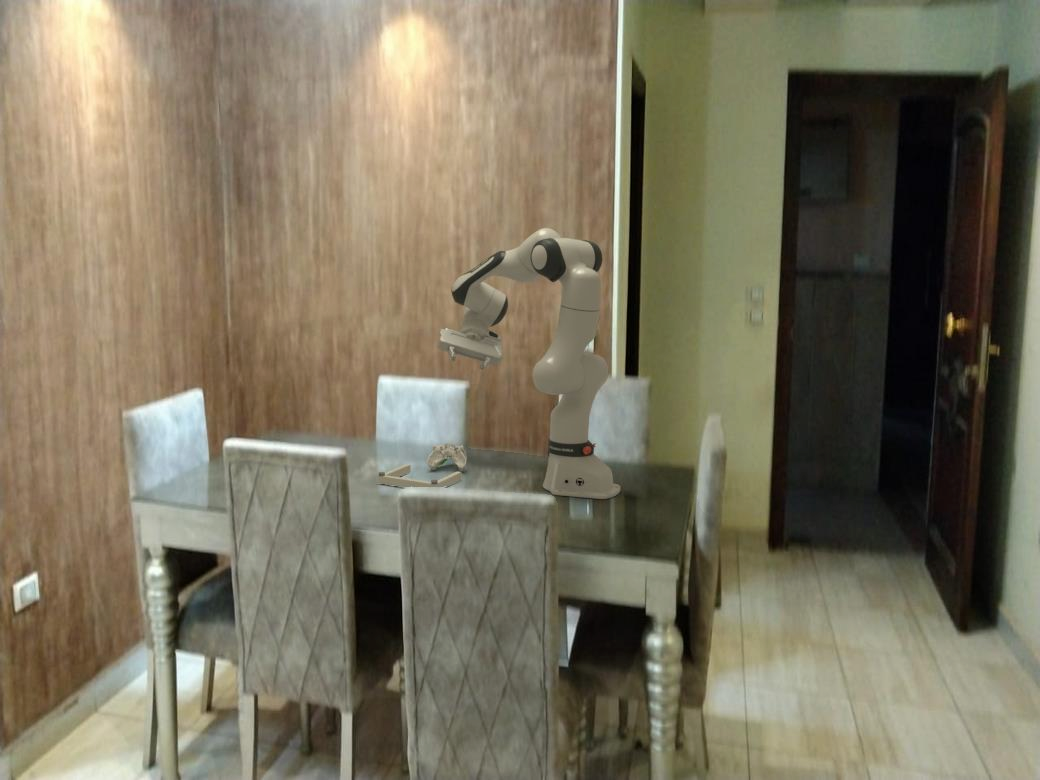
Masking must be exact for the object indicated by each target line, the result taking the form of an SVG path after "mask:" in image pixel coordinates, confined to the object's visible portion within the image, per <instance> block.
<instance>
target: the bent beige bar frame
mask: <svg viewBox="0 0 1040 780" xmlns="http://www.w3.org/2000/svg"><path fill="white" fill-rule="evenodd" d="M411 466H412V465H411V464H408V463H405V464H404V465H403V464H402V465H401V466H398V467H395V468H393V469H391V470H388V471H386V472H384V471H380V472H378V475H377V479H378V480H377V484H378V483H380V484H379V485H381V484H386V485H385V486H387V485H395V486H399V487H398V488H400V487H401V486H402V488H401V489H404V488H403V487H411V486H412V487H444V486H449V485H451V486H453V485H455V484H456V483H458V482H460V481H462V471H459V470H458V471H455V472H453V473H451V474H448V475H446V476H445V477H442V478H440V479H438V480H437V479H432V480H431V481H426V480H420V479H413V478H404V476H406V475H408V473H409V474H411V473H410V472H411V471H412V470H411V469H412V468H411ZM405 474H406V475H405ZM403 475H404V476H403ZM400 476H402V477H400ZM452 484H453V485H452ZM449 487H450V486H449Z"/></svg>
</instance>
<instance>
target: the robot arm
mask: <svg viewBox="0 0 1040 780" xmlns="http://www.w3.org/2000/svg"><path fill="white" fill-rule="evenodd" d="M602 263H603V253H602V250H601V248H600V247H599V245H598V244H597V243H595V242H593V241H590V240H587V239H575V238H574V239H573V238H570V237H561V235H560V234H559V233H558V232H557V231H555V230H554V229H552V228H549V227H543V228H540V229H538V230H537V231H535V232H533V233H532V234H531V235H529V236H528V237H527V238H526V239H524V241H522V243H520V245H519V246H517V247H515V248H513V249H510V250H499V251H497V252H495V253H494V254H492V255H490V256H488V257H487V258H486V259H485V260H483V261H482V262H480V263H479V264H477V265H476V266H475V267H474V268H471V269H470V270H468V271H467V272H464V273H462V274H461V275H459V276H458V278H457V279H455V281H454V283H453V284H452V287H451V290H450V291H451V295H452V298H453V301H454V302H455V303H457V304H458V305H461V306H463V307H465V308H464V312H463V315H462V318H461V325H460V327H459V330H455V329H451V328H450V327H445V328H440V331H439V336H440V338H439V340H438V342H437V343H438V344H437V348H438V350H441V351H444V352H447V354H448V355H449V360H450V361H452V362H455V361H456V359H457V355H458V356H460V357H464V358H468V359H471V360H475V361H478V362H481V363H480V365H479V369H480V370H484V371H485V369H486V367H488V366H489V365H492V366H495V367H498V366H500V364H501V362H502V361H503V355H504V354H503V353H504V350H503V349H504V348H503V345H502V344H503V343H501V341H502V336H501V335H500V334H497V333H496V332H494V331H492V330H491V329H489V328H490V327H491V328H492V327H494V326H496V325H498V324H499V323H501V322H502V321H503V319H504V318H505V317H506V315H507V312H508V308H509V299H508V297H507V295H506V294H505V293H503V292H502V291H500V290H499V289H497V288H495V287H493V286H492V285H490V284H488V283H486V282H485V281H486V280H487V279H490V277H494V276H495V277H503V278H506V279H510V280H512V281H516V282H518V283H524V284H525V283H526V284H528V283H529V284H530V283H534V282H535V281H537V280H539V279H540V278H541V277H544V278H546V279H548V280H549V281H550V282H552V283H555V282H557V281H559V282H560V284H561V286H562V292H561V294H562V295H561V300H560V304H559V305H560V306H559V313H558V321H557V327H556V331H555V335H554V337H553V339H552V342H551V344H550V346H549V348H548V349H547V351H546V353H545V354H544V355H543V357H542V358H541V359H539V361H537V362H536V364H535V365H534V367H533V370H532V381H533V384H534V386H535V388H536V389H537V391H539V392H540V393H542V394H547V395H553V396H559V395H560V396H561V398H560V400H559V402H558V403H557V405H556V406H555V407H554V408H553V409H552V410H551V413H550V417H549V418H550V422H549V423H550V424H549V438H548V441H547V458H548V460H547V461H548V462H547V468H546V473H545V478H544V481H543V483H542V488H544V489H545V490H547V491H549V492H550V493H551V495H553V496H554V495H555V496H566V497H573V498H574V497H575V498H586V499H587V498H588V499H597V500H607V499H611V498H613V497H616V496H617V495H618V494H620V492H621V486H620V485H619V484H618V483H617V484H616V483H614V477H613V476H614V475H613V473H612V472H613V471H612V469H611V467H610V466H608V465H607V464H606V463H605V462H604V461H602V460H601V458H599V457H598V456H597V455H596V454H594V453H595V448H596V444H597V443H596V442H594V443H592V442H591V441H590V440H589V428H590V427H589V426H590V425H589V424H590V415H591V411H592V407H593V404H594V400H595V399H596V396H597V394H598V392H599V391H600V389H601V388H602V386H604V384H605V383H606V382H607V380H608V377H609V366H608V363H607V361H606V359H605V358H604V357H602V356H601V355H599V354H595V353H590V352H585V350H586V348H587V347H588V345H589V344H591V342H593V341H594V340H595V337H596V336H597V332H598V325H599V324H598V323H599V317H600V309H601V299H602V298H601V297H602V290H601V289H602V286H601V285H602V282H601V277H600V275H599V273H598V272H599V271H600V269H601V267H602Z"/></svg>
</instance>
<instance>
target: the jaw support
mask: <svg viewBox="0 0 1040 780" xmlns="http://www.w3.org/2000/svg"><path fill="white" fill-rule="evenodd" d="M448 445H449V447H448ZM464 448H465V447H464V446H463V445H462V444H461V445H455V444H454V443H453V442H452V440H448V441H446V442H445V444H439V445H437V444H436V443H435V444H434V445H433V446H432V451H431V453H430V454H429V455H428V458H427V459H426V464H427V466H428V468H429V470H431V471H435V470H436V469H439V467H440V466H442V465H443V464H445V462H447V461H448V460H449V459H452V461H453V462H454V464H455V466H457V469H458V472H461V473H465V472H466V465H467V460H468V457H467V456H468V455H467V452H466V450H465V449H464Z"/></svg>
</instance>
